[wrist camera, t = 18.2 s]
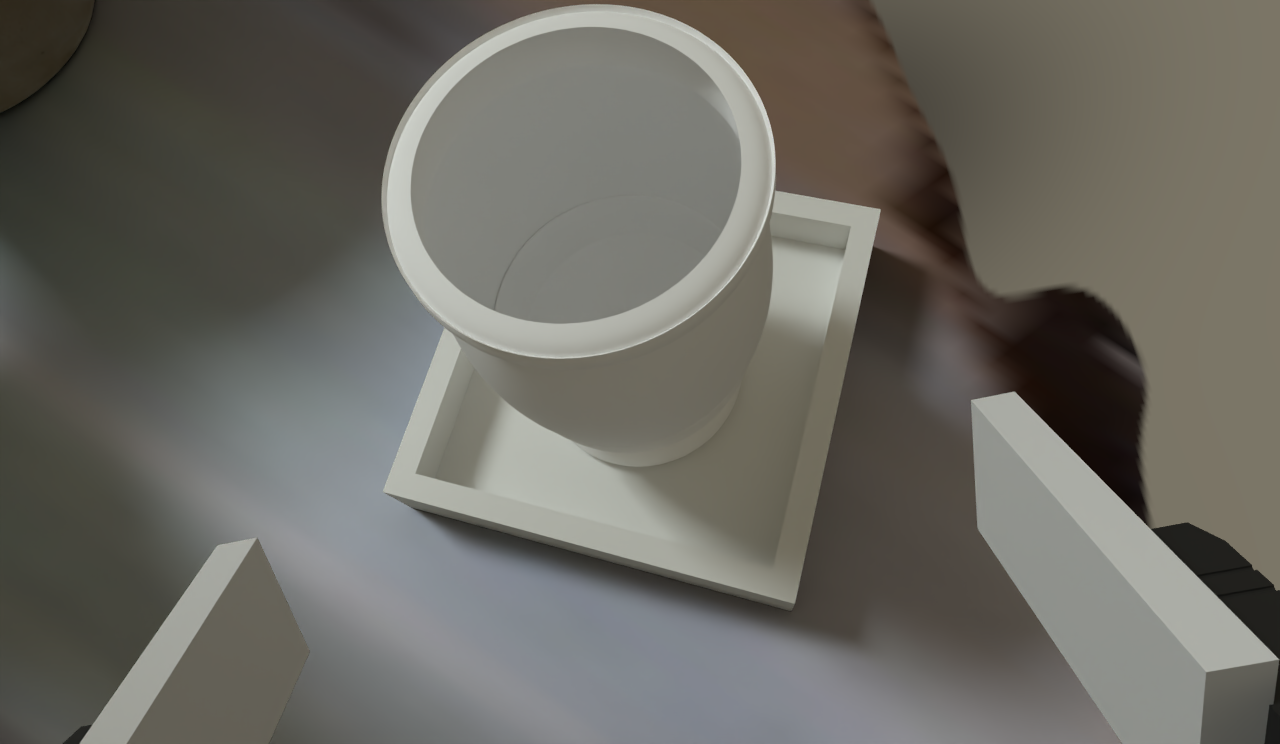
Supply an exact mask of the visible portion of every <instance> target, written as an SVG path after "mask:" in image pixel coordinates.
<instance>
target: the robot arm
mask: <svg viewBox="0 0 1280 744" xmlns="http://www.w3.org/2000/svg"><path fill="white" fill-rule="evenodd" d="M971 411H972V431H973V451H974V470H975V490H976V510H977V529H978V530H979V532H980V533H981V535H982V536H983V538H984V539H985V540H986V542H987V543H988V545H989V546H990V548H991V549H992V551H993V552H994V554H995V555H996V557H997V558H998V560H999V561H1000V563H1001V564H1002V566H1003V567H1004V569H1005V570H1006V572H1007V573H1008V575H1009V576H1010V578H1011V579H1012V581H1013V582H1014V584H1015V585H1016V587H1017V588H1018V590H1019V591H1020V592H1021V594H1022V595H1023V597H1024V598H1025V600H1026V601H1027V603H1028V604H1029V606H1030V607H1031V609H1032V610H1033V612H1034V613H1035V615H1036V616H1037V618H1038V619H1039V621H1040V622H1041V624H1042V625H1043V627H1044V628H1045V630H1046V631H1047V633H1048V634H1049V636H1050V637H1051V639H1052V640H1053V641H1054V643H1055V644H1056V646H1057V647H1058V649H1059V650H1060V652H1061V653H1062V655H1063V656H1064V658H1065V659H1066V661H1067V662H1068V664H1069V665H1070V667H1071V668H1072V670H1073V671H1074V673H1075V674H1076V676H1077V677H1078V679H1079V680H1080V682H1081V683H1082V685H1083V686H1084V688H1085V689H1086V690H1087V692H1088V693H1089V695H1090V696H1091V698H1092V699H1093V701H1094V702H1095V704H1096V705H1097V707H1098V708H1099V710H1100V711H1101V713H1102V714H1103V716H1104V717H1105V719H1106V720H1107V722H1108V723H1109V725H1110V726H1111V728H1112V729H1113V731H1114V732H1115V734H1116V735H1117V737H1118V738H1119V740H1120V741H1121V742H1122V744H1280V590H1278V591H1276V590H1275V588H1274V585H1273V584H1272V583H1271V582H1270V581H1269V580H1268V579H1267V578H1265V577H1264V576H1263V575H1262V574H1261V573H1260V572H1259V571H1258V570H1255V571H1254V570H1253V568H1252V565H1251V564H1250V563H1249V562H1248V561H1247V560H1246V559H1245V558H1244V557H1242V556H1241V555H1240V554H1239V553H1238V552H1237V551H1236V550H1235V549H1233V547H1231V546H1230V545H1229V544H1228V543H1227V542H1226V541H1224V540H1222V539H1220V538H1218V537H1216V536H1214V535H1212V534H1210V533H1208V532H1206V531H1204V530H1202V529H1200V528H1198V527H1195V526H1194V525H1191V524H1190V523H1182V524H1176V525H1171V526H1166V527H1160V528H1154V529H1150V528H1149V527H1148V526H1147V525H1146V524H1145V523H1144V522H1143V521H1142V520H1141V519H1140V518H1139V517H1138V516H1137V515H1136V514H1135V513H1134V512H1133V511H1132V510H1131V509H1130V508H1129V507H1128V506H1127V505H1126V504H1125V503H1124V502H1123V501H1122V500H1121V499H1120V498H1119V497H1118V496H1117V495H1116V494H1115V493H1114V492H1113V491H1112V490H1111V489H1110V488H1109V487H1108V486H1107V485H1106V484H1105V483H1104V482H1103V481H1102V480H1101V479H1100V478H1099V477H1098V476H1097V475H1096V474H1095V473H1094V472H1093V471H1092V470H1091V469H1090V468H1089V467H1088V466H1087V465H1086V464H1085V463H1084V461H1083V460H1082V459H1081V458H1080V457H1079V456H1078V455H1077V454H1076V453H1075V452H1074V451H1073V450H1072V449H1071V448H1070V447H1069V446H1068V445H1067V444H1066V443H1065V442H1064V441H1063V440H1062V439H1061V438H1060V437H1059V436H1058V435H1057V434H1056V433H1055V432H1054V431H1053V430H1052V429H1051V428H1050V427H1049V426H1048V425H1047V424H1046V423H1045V422H1044V421H1043V420H1042V419H1041V418H1040V417H1039V416H1038V415H1037V414H1036V413H1035V412H1034V411H1033V410H1032V409H1031V408H1030V407H1029V406H1028V405H1027V404H1026V403H1025V402H1024V401H1023V400H1022V399H1021V398H1020V397H1019V396H1018V395H1017V394H1016V393H1015V392H1011V393H1005V394H1000V395H995V396H990V397H985V398H979V399H974V400H971ZM309 653H310V651H309V649H308V646H307V644H306V642H305V640H304V638H303V636H302V633H301V631H300V629H299V627H298V625H297V623H296V620H295V618H294V616H293V614H292V612H291V610H290V607H289V605H288V603H287V601H286V599H285V597H284V594H283V592H282V590H281V588H280V586H279V584H278V581H277V579H276V577H275V575H274V573H273V571H272V568H271V566H270V564H269V562H268V560H267V558H266V555H265V553H264V551H263V549H262V547H261V545H260V542H259V540H258V538H252V539H247V540H241V541H236V542H231V543H226V544H221V545H217V547H216V548H215V549H214V551H213V552H212V554H211V555H210V557H209V558H208V559H207V561H206V562H205V564H204V565H203V567H202V568H201V570H200V571H199V572H198V574H197V575H196V577H195V578H194V580H193V581H192V582H191V584H190V585H189V587H188V588H187V590H186V591H185V593H184V594H183V595H182V597H181V598H180V600H179V601H178V603H177V604H176V605H175V607H174V608H173V610H172V611H171V613H170V614H169V616H168V617H167V618H166V620H165V621H164V623H163V624H162V626H161V627H160V628H159V630H158V631H157V633H156V634H155V636H154V637H153V639H152V640H151V641H150V643H149V644H148V646H147V647H146V649H145V650H144V652H143V653H142V654H141V656H140V657H139V659H138V660H137V662H136V663H135V664H134V666H133V667H132V669H131V670H130V672H129V673H128V675H127V676H126V677H125V679H124V680H123V682H122V683H121V685H120V686H119V687H118V689H117V690H116V692H115V693H114V695H113V696H112V698H111V699H110V700H109V702H108V703H107V705H106V706H105V708H104V709H103V710H102V712H101V713H100V715H99V716H98V718H97V719H96V721H95V722H94V723H93V725H88V726H83V727H80V728H79V729H78V730H77V731H76V732H75V733H74V734H73V735H72V736H71V737H69V738H68V739H67V740H66V741H65V742H64V743H63V744H269V742H270V740H271V738H272V736H273V734H274V731H275V729H276V727H277V725H278V722H279V720H280V718H281V716H282V713H283V711H284V709H285V707H286V704H287V702H288V700H289V698H290V695H291V693H292V691H293V689H294V686H295V684H296V682H297V680H298V678H299V675H300V673H301V671H302V669H303V666H304V664H305V662H306V660H307V657H308V655H309Z"/></svg>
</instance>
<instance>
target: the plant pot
mask: <svg viewBox="0 0 1280 744" xmlns="http://www.w3.org/2000/svg"><path fill="white" fill-rule="evenodd" d="M94 2H95V0H0V113H1V112H3V111H5V110H7V109H9V108H11V107H13V106H15V105H17V104H18V103H20V102H21V101H23V100H25V99H26V98H28V97H29V96H30V95H32V94H33V93H35V92H36V91H37V90H39V89H40V88H41V87H42V86H43V85H45V84H46V83H47V82H48V81H49V80H50V79H51V78H52V77H53V76H54V75H55V74H56V73H58V72H59V70H60V69H61V68H62V67H63V66H64V65H65V63H66V62H67V61H68V60H69V58H70V57H71V56H72V54H73V53H74V52H75V50H76V49H77V47H78V45H79V44H80V42H81V40H82V38H83V36H84V35H85V33H86V31H87V28H88V26H89V23H90V20H91V16H92V12H93V7H94Z"/></svg>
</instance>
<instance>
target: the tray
mask: <svg viewBox="0 0 1280 744" xmlns="http://www.w3.org/2000/svg"><path fill="white" fill-rule="evenodd" d="M880 211H881V209H875V208H870V207H864V206H858V205H853V204H847V203H841V202H836V201H830V200H824V199H819V198H813V197H807V196H802V195H796V194H790V193H785V192H779V191H775V197H774V204H773V210H772V215H771V219H770V223H769V224H770V230H771V238H772V249H773V281H772V292H771V299H770V305H769V310H768V315H767V319H766V323H765V326H764V330H763V333H762V336H761V338H760V341H759V344H758V346H757V349H756V351H755V353H754V355H753V357H752V359H751V361H750V363H749V365H748V368H747V370H746V372H745V375H744V377H743V379H742V381H741V385H740V389H739V393H738V396H737V399H736V402H735V404H734V406H733V408H732V410H731V412H730V414H729V416H728V417H727V419H726V420H725V422H724V423H723V425H722V426H721V427H720V428H719V430H718V431H717V432H716V433H715V434H714V435H713V436H712V437H711V438H710V439H709V440H708V441H707V442H705V443H704V444H703V445H702V446H700V447H699V448H697V449H696V450H694V451H693V452H691V453H689V454H687V455H686V456H683V457H681V458H679V459H676V460H674V461H671V462H668V463H664V464H659V465H654V466H644V467H634V466H623V465H618V464H613V463H610V462H607V461H604V460H601V459H599V458H596V457H594V456H592V455H590V454H589V453H587V452H585V451H584V450H582V449H581V448H579V447H578V446H577V445H576V444H574V443H573V442H572V441H571V440H569V439H566V438H564V437H563V436H561V435H559V434H557V433H555V432H553V431H550V430H548V429H546V428H544V427H542V426H541V425H539V424H537V423H535V422H534V421H532V420H530V419H529V418H527V417H526V416H524V415H523V414H521V413H520V412H519V411H517V410H516V409H515V408H513V407H512V406H511V405H510V404H508V403H507V402H506V401H505V400H504V399H503V398H502V397H500V396H499V395H498V394H497V393H496V392H495V391H494V390H493V389H492V388H491V387H490V386H489V385H488V384H487V382H486V381H485V380H484V379H483V378H482V377H481V375H480V374H479V373H478V372H477V371H476V369H475V368H474V367H473V365H472V364H471V363H470V361H469V360H468V358H467V357H466V355H465V354H464V352H463V351H462V349H461V347H460V346H459V344H458V342H457V341H456V339H455V337H454V335H453V334H452V333H451V332H450V331H448V330H447V329H446V328H444V330H443V333H442V336H441V338H440V341H439V344H438V346H437V349H436V352H435V354H434V357H433V360H432V362H431V365H430V368H429V370H428V373H427V376H426V378H425V381H424V384H423V386H422V389H421V392H420V394H419V397H418V400H417V402H416V405H415V408H414V410H413V413H412V416H411V418H410V421H409V423H408V426H407V429H406V431H405V434H404V437H403V439H402V442H401V445H400V447H399V450H398V453H397V455H396V458H395V461H394V463H393V466H392V469H391V471H390V474H389V477H388V479H387V482H386V485H385V487H384V490H383V492H384V493H386V494H387V495H389V496H391V497H393V498H395V499H397V500H398V501H400V502H402V503H404V504H406V505H408V506H409V507H411V508H415V509H419V510H422V511H426V512H430V513H433V514H437V515H441V516H444V517H448V518H452V519H455V520H459V521H463V522H466V523H470V524H473V525H477V526H481V527H484V528H488V529H492V530H495V531H499V532H503V533H506V534H510V535H514V536H517V537H521V538H525V539H528V540H532V541H536V542H539V543H543V544H547V545H550V546H554V547H558V548H561V549H565V550H569V551H572V552H576V553H579V554H583V555H587V556H590V557H594V558H598V559H601V560H605V561H609V562H612V563H616V564H620V565H623V566H627V567H631V568H634V569H638V570H642V571H645V572H649V573H653V574H656V575H660V576H664V577H667V578H671V579H674V580H678V581H682V582H685V583H689V584H693V585H696V586H700V587H704V588H707V589H711V590H715V591H718V592H722V593H726V594H729V595H733V596H737V597H740V598H744V599H748V600H751V601H755V602H759V603H762V604H766V605H769V606H773V607H777V608H780V609H784V610H788V611H792V609H793V607H794V605H795V601H796V596H797V592H798V587H799V583H800V578H801V573H802V569H803V564H804V560H805V555H806V550H807V546H808V541H809V537H810V532H811V527H812V523H813V518H814V514H815V509H816V505H817V500H818V495H819V491H820V486H821V482H822V477H823V472H824V468H825V463H826V459H827V454H828V449H829V445H830V440H831V436H832V431H833V426H834V422H835V417H836V413H837V408H838V404H839V399H840V394H841V390H842V385H843V381H844V376H845V371H846V367H847V362H848V358H849V353H850V348H851V344H852V339H853V335H854V330H855V325H856V321H857V316H858V312H859V307H860V303H861V298H862V293H863V289H864V284H865V280H866V275H867V270H868V266H869V261H870V257H871V252H872V247H873V243H874V238H875V234H876V229H877V224H878V220H879V215H880Z"/></svg>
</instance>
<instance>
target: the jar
mask: <svg viewBox="0 0 1280 744" xmlns="http://www.w3.org/2000/svg"><path fill="white" fill-rule="evenodd" d="M775 187H776V167H775V148H774V140H773V135H772V130H771V126H770V122H769V119H768V116H767V113H766V110H765V108H764V105H763V103H762V101H761V99H760V97H759V95H758V93H757V91H756V89H755V87H754V86H753V84H752V83H751V81H750V79H749V78H748V77H747V75H746V74H745V72H744V71H743V70H742V69H741V67H740V66H739V65H738V64H737V63H736V62H735V61H734V59H733V58H732V57H731V56H730V55H729V54H728V53H726V52H725V51H724V50H723V49H722V48H721V47H720V46H718V45H717V44H716V43H715V42H713V41H712V40H711V39H709V38H708V37H706V36H705V35H703V34H702V33H700V32H699V31H697V30H695V29H693V28H692V27H690V26H688V25H686V24H684V23H682V22H680V21H677V20H675V19H673V18H670V17H667V16H665V15H662V14H658V13H655V12H652V11H648V10H644V9H639V8H634V7H628V6H620V5H606V4H588V5H574V6H566V7H560V8H554V9H549V10H545V11H541V12H537V13H534V14H530V15H527V16H524V17H521V18H519V19H516V20H514V21H511V22H509V23H506V24H504V25H502V26H500V27H498V28H496V29H494V30H492V31H490V32H488V33H486V34H484V35H483V36H481V37H479V38H478V39H476V40H475V41H473V42H471V43H470V44H469V45H467V46H466V47H464V48H463V49H462V50H460V51H459V52H458V53H456V54H455V55H454V56H453V57H451V58H450V59H449V60H448V61H447V62H446V63H445V64H443V65H442V66H441V67H440V68H439V69H438V70H437V71H436V72H435V73H434V74H433V75H432V77H431V78H430V79H429V80H428V81H427V82H426V83H425V85H424V86H423V87H422V88H421V90H420V91H419V92H418V94H417V95H416V96H415V98H414V99H413V101H412V102H411V104H410V105H409V107H408V108H407V110H406V112H405V114H404V115H403V117H402V119H401V121H400V123H399V125H398V127H397V129H396V132H395V134H394V137H393V139H392V142H391V145H390V148H389V151H388V154H387V158H386V162H385V167H384V173H383V180H382V195H381V202H382V216H383V223H384V229H385V233H386V237H387V241H388V244H389V247H390V250H391V253H392V255H393V258H394V260H395V262H396V265H397V267H398V269H399V270H400V272H401V274H402V276H403V277H404V279H405V281H406V282H407V284H408V285H409V287H410V288H411V290H412V291H413V293H414V294H415V296H416V297H417V299H418V300H419V301H420V303H421V304H422V305H423V306H424V308H425V309H426V310H427V311H428V312H429V313H430V314H431V315H432V316H433V317H434V318H435V319H436V320H437V321H438V322H439V323H440V324H441V325H442V326H444V327H445V328H446V329H447V330H448V331H450V332H451V333H452V334H453V335H454V337H455V339H456V341H457V342H458V344H459V346H460V347H461V349H462V351H463V352H464V354H465V355H466V357H467V358H468V360H469V361H470V363H471V364H472V365H473V367H474V368H475V369H476V371H477V372H478V373H479V374H480V375H481V377H482V378H483V379H484V380H485V381H486V382H487V384H488V385H489V386H490V387H491V388H492V389H493V390H494V391H495V392H496V393H497V394H498V395H499V396H500V397H502V398H503V399H504V400H505V401H506V402H507V403H508V404H510V405H511V406H512V407H513V408H515V409H516V410H517V411H519V412H520V413H521V414H523V415H524V416H526V417H527V418H529V419H530V420H532V421H534V422H535V423H537V424H539V425H541V426H542V427H544V428H546V429H548V430H550V431H553V432H555V433H557V434H559V435H561V436H563V437H564V438H566V439H569V440H571V441H572V442H573V443H574V444H576V445H577V446H578V447H579V448H581V449H582V450H584V451H585V452H587V453H589V454H590V455H592V456H594V457H596V458H599V459H601V460H604V461H607V462H610V463H613V464H618V465H623V466H634V467H644V466H654V465H659V464H664V463H668V462H671V461H674V460H676V459H679V458H681V457H683V456H686V455H687V454H689V453H691V452H693V451H694V450H696V449H697V448H699V447H700V446H702V445H703V444H704V443H705V442H707V441H708V440H709V439H710V438H711V437H712V436H713V435H714V434H715V433H716V432H717V431H718V430H719V428H720V427H721V426H722V425H723V423H724V422H725V420H726V419H727V417H728V416H729V414H730V412H731V410H732V408H733V406H734V404H735V402H736V399H737V396H738V393H739V389H740V385H741V381H742V379H743V377H744V375H745V372H746V370H747V368H748V365H749V363H750V361H751V359H752V357H753V355H754V353H755V351H756V349H757V346H758V344H759V341H760V338H761V336H762V333H763V330H764V326H765V323H766V319H767V315H768V310H769V305H770V299H771V292H772V281H773V249H772V238H771V230H770V224H769V223H770V219H771V215H772V210H773V204H774V197H775Z"/></svg>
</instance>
